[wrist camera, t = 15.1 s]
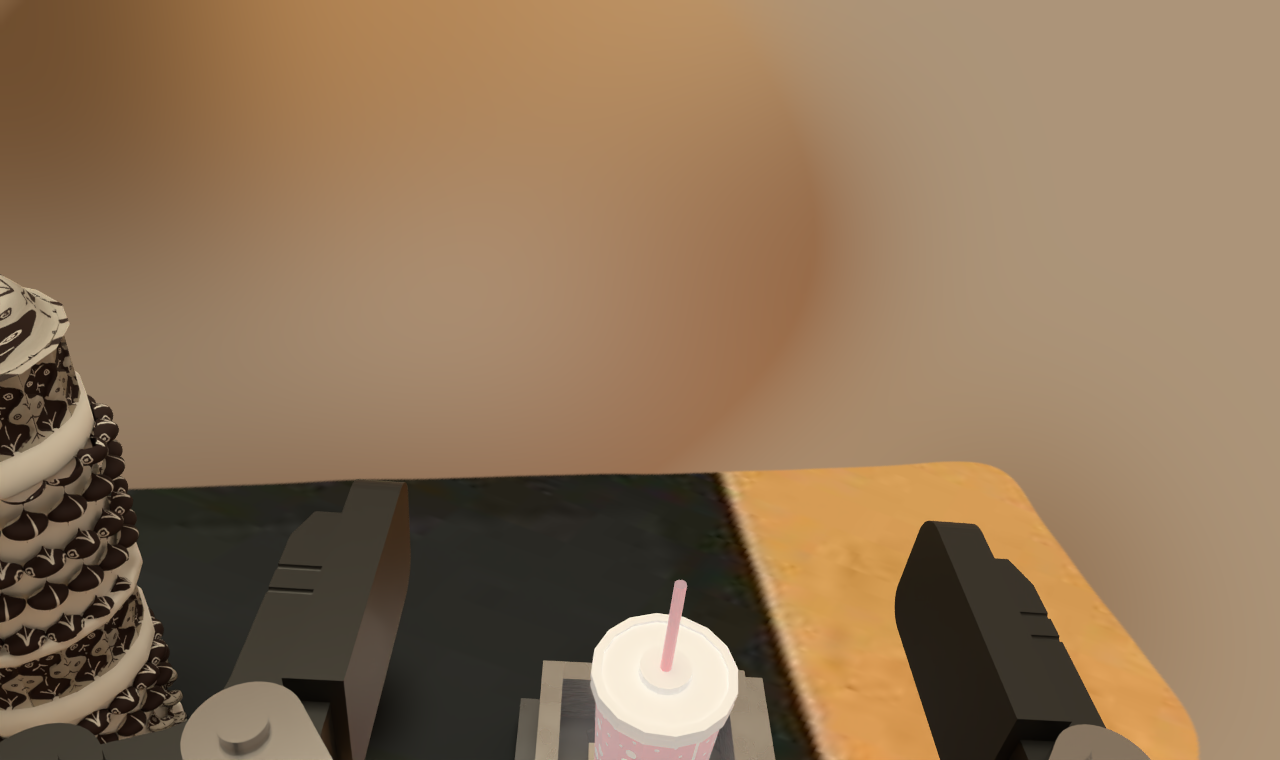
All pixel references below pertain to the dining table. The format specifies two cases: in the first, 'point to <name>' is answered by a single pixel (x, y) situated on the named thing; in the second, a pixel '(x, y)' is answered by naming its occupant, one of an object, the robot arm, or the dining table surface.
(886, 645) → the dining table surface
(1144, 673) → the dining table surface
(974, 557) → the robot arm
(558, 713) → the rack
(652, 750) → the beverage cup
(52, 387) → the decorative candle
